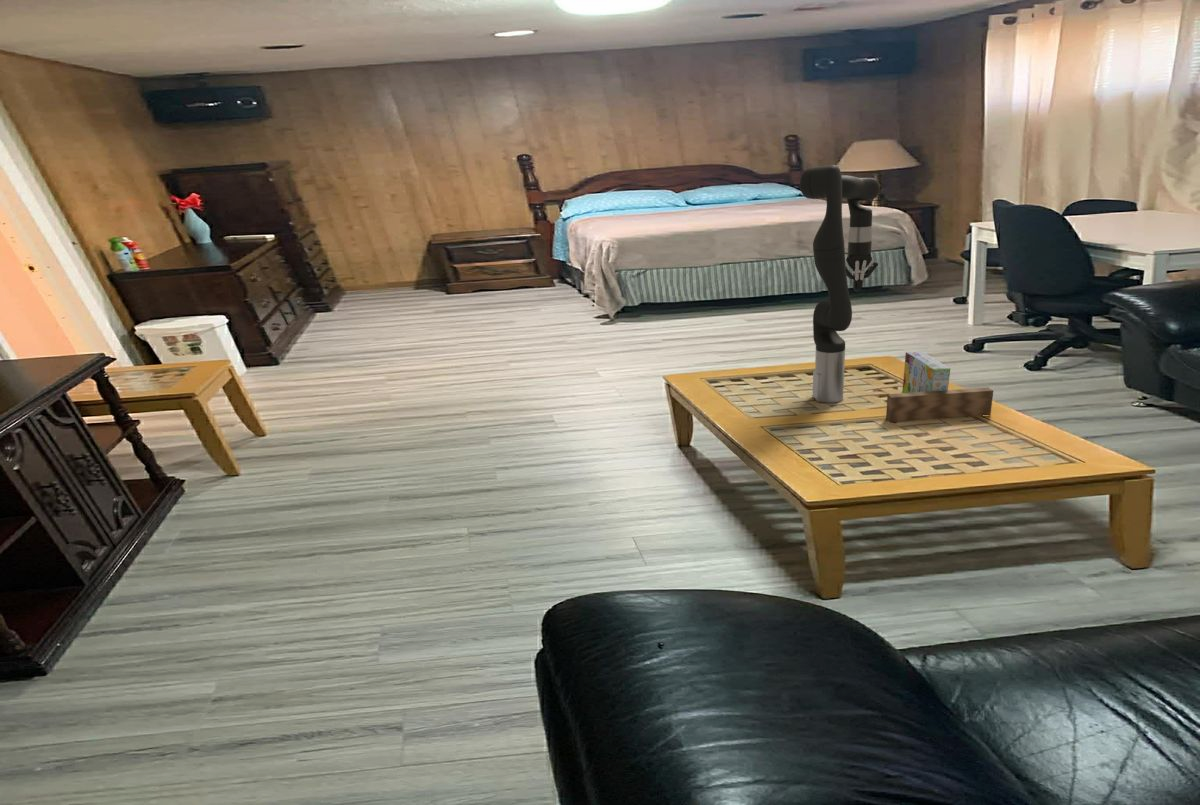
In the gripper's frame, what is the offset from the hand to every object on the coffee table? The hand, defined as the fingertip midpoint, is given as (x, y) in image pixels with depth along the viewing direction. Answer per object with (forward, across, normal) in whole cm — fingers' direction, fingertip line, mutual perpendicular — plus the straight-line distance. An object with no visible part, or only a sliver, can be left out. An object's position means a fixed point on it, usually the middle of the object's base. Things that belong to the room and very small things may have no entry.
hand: (857, 290), depth 238 cm
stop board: (+32, +11, -43) cm, 55 cm away
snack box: (+32, +12, -31) cm, 46 cm away
